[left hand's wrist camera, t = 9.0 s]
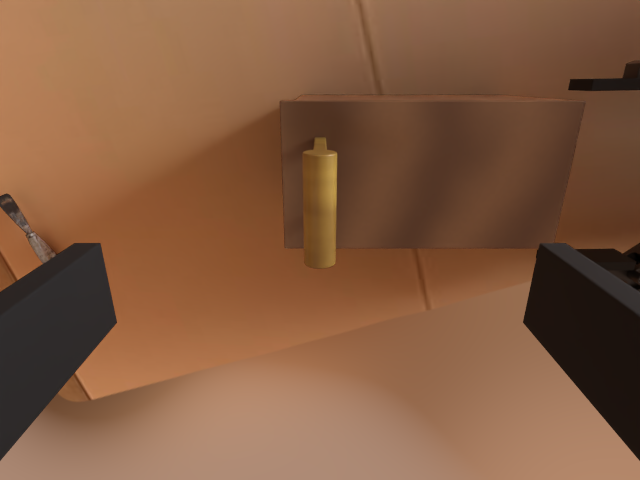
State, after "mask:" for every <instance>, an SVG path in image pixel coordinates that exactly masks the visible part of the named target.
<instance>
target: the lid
mask: <svg viewBox="0 0 640 480" xmlns="http://www.w3.org/2000/svg"><path fill="white" fill-rule="evenodd" d="M584 106H585V101H579V100H282V101H280V122H281V152H282V181H283V211H284V240H285V248H304V263H305V265H306V266H308V267H311V268H315V269H324V268H329V267H332V266H333V265H334V264H335V262H336V248H539V244H540V243H554V241H555V236H556V232H557V227H558V223H559V218H560V214H561V209H562V205H563V200H564V196H565V191H566V187H567V183H568V178H569V174H570V169H571V165H572V160H573V156H574V151H575V147H576V142H577V138H578V133H579V129H580V124H581V120H582V115H583V111H584Z"/></svg>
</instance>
